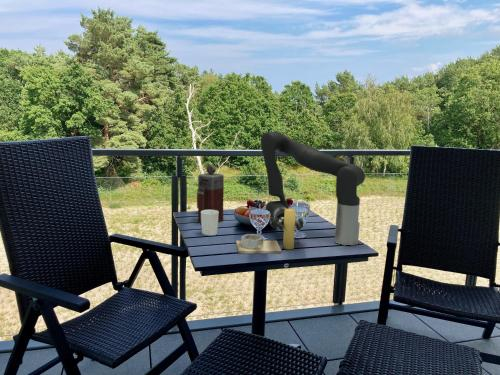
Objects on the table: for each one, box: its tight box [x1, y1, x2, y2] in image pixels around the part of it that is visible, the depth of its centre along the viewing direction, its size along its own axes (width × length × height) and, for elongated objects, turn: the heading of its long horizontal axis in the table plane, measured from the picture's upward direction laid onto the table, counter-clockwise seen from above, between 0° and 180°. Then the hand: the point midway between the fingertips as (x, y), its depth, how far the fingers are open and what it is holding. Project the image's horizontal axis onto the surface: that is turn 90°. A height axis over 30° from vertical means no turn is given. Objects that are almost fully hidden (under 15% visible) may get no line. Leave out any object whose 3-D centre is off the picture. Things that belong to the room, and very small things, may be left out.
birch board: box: [235, 239, 283, 255], centre depth 177 cm, size 17×13×1 cm
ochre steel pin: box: [282, 208, 296, 250], centre depth 177 cm, size 4×4×16 cm
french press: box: [196, 164, 225, 224], centre depth 210 cm, size 9×11×28 cm
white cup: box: [200, 210, 219, 236], centre depth 193 cm, size 8×8×10 cm
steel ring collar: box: [240, 233, 264, 249], centre depth 176 cm, size 9×9×4 cm
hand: (290, 228), depth 174 cm, fingers open, 6 cm apart
